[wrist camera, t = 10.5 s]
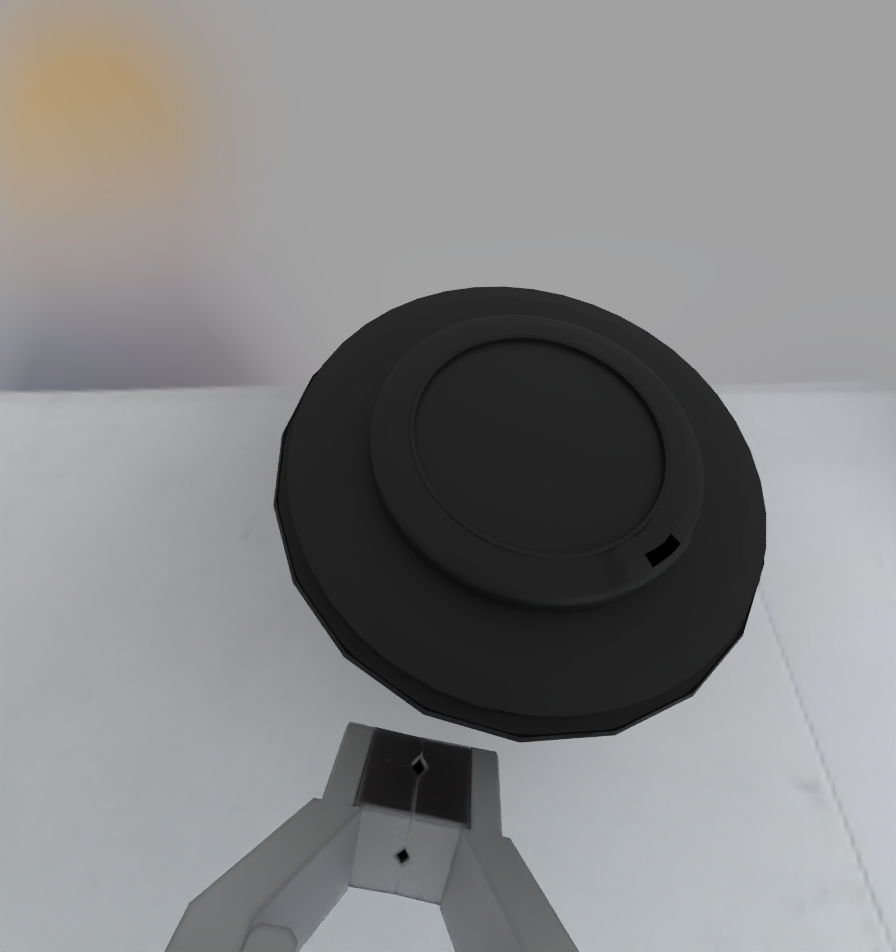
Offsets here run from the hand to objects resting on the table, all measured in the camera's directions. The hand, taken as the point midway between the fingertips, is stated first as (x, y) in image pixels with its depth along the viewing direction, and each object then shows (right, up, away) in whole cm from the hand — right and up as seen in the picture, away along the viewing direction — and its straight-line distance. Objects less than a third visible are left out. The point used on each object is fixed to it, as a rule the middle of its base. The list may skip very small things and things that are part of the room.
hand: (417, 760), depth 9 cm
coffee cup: (+1, +1, +7) cm, 7 cm away
